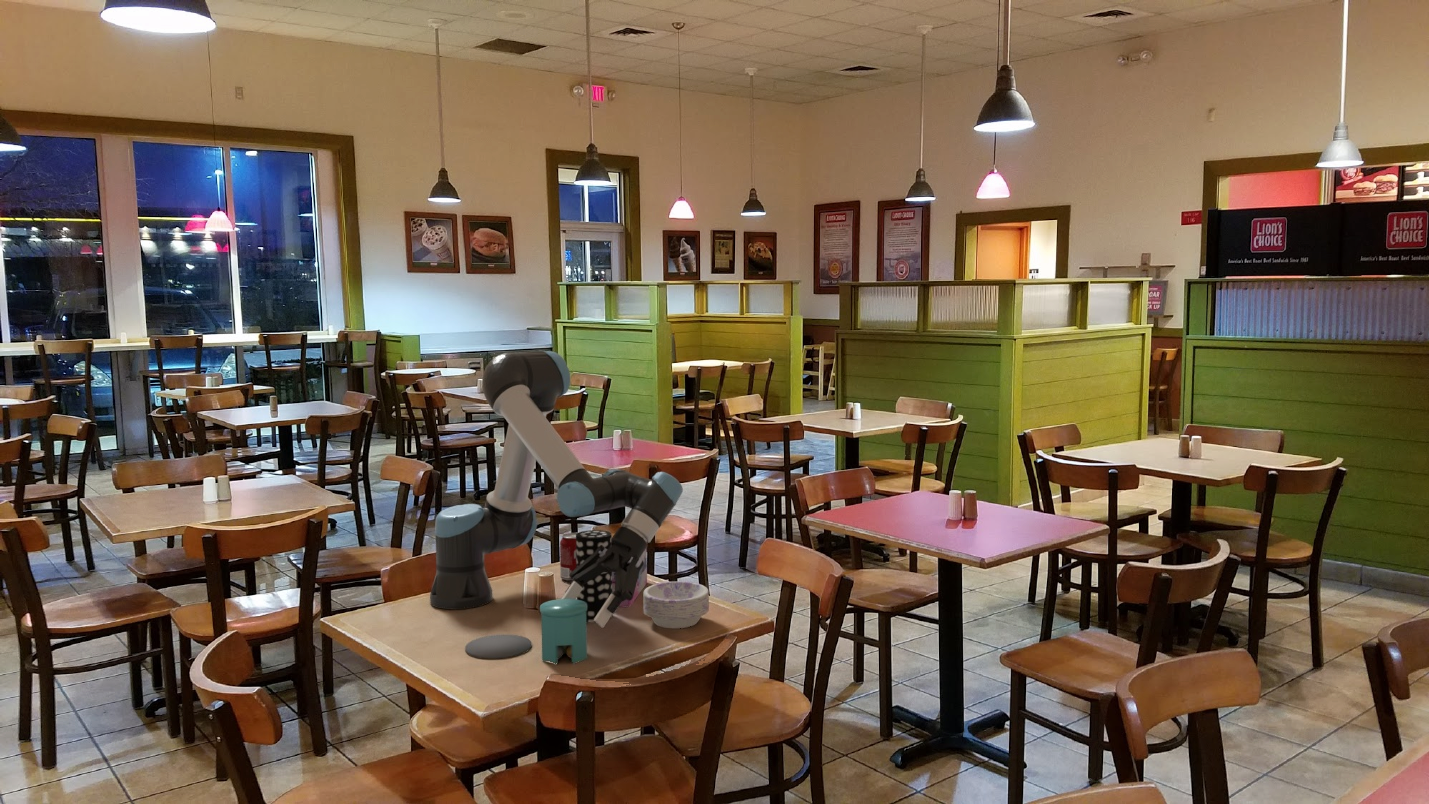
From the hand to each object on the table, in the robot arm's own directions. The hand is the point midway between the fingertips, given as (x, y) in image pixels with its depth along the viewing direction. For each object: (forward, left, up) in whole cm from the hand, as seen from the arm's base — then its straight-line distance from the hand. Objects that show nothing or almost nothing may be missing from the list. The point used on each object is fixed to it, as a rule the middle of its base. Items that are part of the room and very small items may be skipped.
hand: (579, 616), depth 217 cm
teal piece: (-3, -2, -8) cm, 9 cm away
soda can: (-23, +55, -8) cm, 60 cm away
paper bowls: (+14, +25, -8) cm, 30 cm away
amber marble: (-1, -2, -8) cm, 8 cm away
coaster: (-19, 0, -8) cm, 20 cm away
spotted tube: (-6, +25, -8) cm, 27 cm away
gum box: (-5, +45, -9) cm, 46 cm away
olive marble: (-3, 0, -8) cm, 9 cm away
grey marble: (-4, -3, -8) cm, 10 cm away
